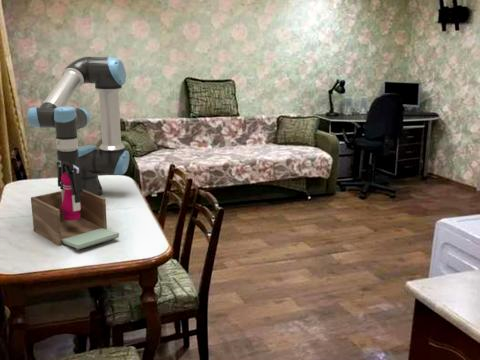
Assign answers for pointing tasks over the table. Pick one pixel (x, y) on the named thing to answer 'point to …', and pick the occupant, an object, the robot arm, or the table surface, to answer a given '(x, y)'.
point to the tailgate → (90, 238)
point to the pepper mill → (68, 200)
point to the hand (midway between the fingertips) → (71, 207)
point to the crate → (56, 228)
